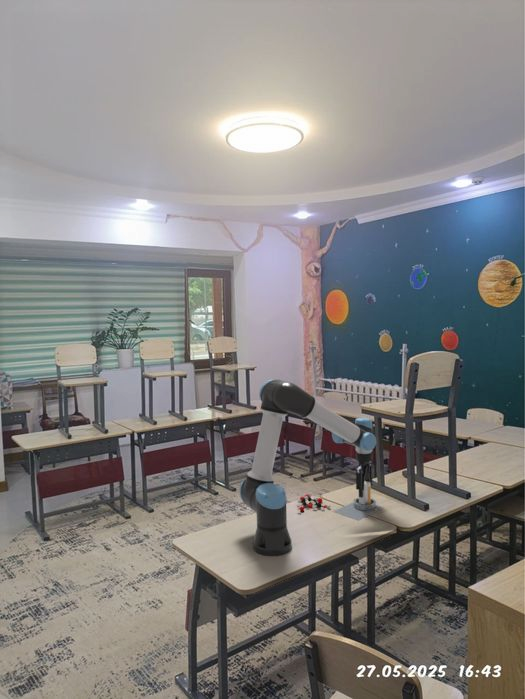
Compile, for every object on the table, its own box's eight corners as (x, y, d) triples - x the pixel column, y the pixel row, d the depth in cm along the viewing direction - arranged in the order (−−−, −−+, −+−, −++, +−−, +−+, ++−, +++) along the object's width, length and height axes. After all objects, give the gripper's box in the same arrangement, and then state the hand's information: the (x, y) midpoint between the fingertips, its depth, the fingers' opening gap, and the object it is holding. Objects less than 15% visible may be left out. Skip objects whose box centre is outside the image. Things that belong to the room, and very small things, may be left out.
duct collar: (358, 511, 220) (358, 506, 220) (350, 503, 230) (350, 498, 230) (379, 509, 222) (379, 504, 222) (371, 501, 232) (371, 496, 231)
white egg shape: (356, 503, 227) (355, 482, 226) (364, 500, 230) (364, 480, 229) (365, 507, 222) (365, 485, 221) (373, 504, 225) (373, 483, 224)
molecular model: (300, 501, 238) (330, 496, 235) (301, 523, 227) (333, 518, 225) (295, 487, 232) (326, 482, 230) (295, 509, 222) (328, 504, 219)
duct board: (358, 523, 211) (358, 519, 211) (333, 514, 221) (332, 511, 221) (384, 509, 225) (384, 506, 225) (359, 501, 235) (359, 499, 235)
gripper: (363, 458, 215) (363, 509, 216) (379, 448, 229) (380, 496, 231) (347, 455, 219) (348, 506, 220) (364, 446, 234) (365, 493, 235)
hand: (364, 501), depth 226 cm, fingers closed on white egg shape, 5 cm apart
